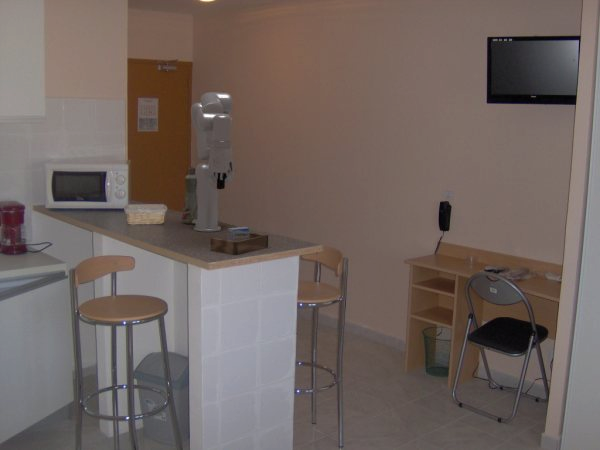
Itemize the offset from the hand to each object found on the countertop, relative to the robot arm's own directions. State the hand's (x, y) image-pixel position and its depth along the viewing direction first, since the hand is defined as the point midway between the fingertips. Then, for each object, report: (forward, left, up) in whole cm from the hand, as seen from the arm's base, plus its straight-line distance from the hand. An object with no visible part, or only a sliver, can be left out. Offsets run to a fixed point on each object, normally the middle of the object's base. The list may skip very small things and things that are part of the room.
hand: (220, 188), depth 300 cm
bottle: (-44, +30, -24) cm, 58 cm away
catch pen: (+12, -2, -24) cm, 27 cm away
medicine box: (+12, -2, -24) cm, 27 cm away
